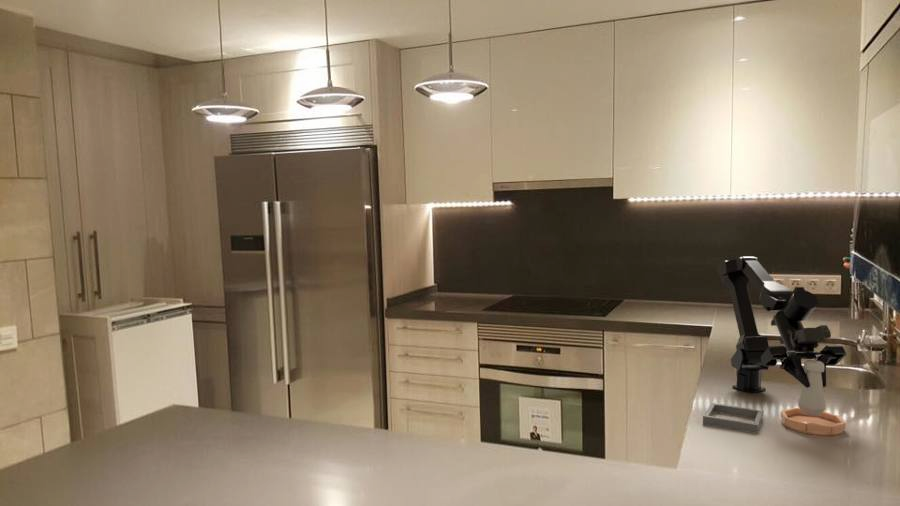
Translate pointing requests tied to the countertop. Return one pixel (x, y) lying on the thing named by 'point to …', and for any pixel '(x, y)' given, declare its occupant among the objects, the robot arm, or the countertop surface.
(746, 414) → the charcoal tray
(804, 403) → the salt shaker
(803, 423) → the terracotta dish
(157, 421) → the countertop surface
